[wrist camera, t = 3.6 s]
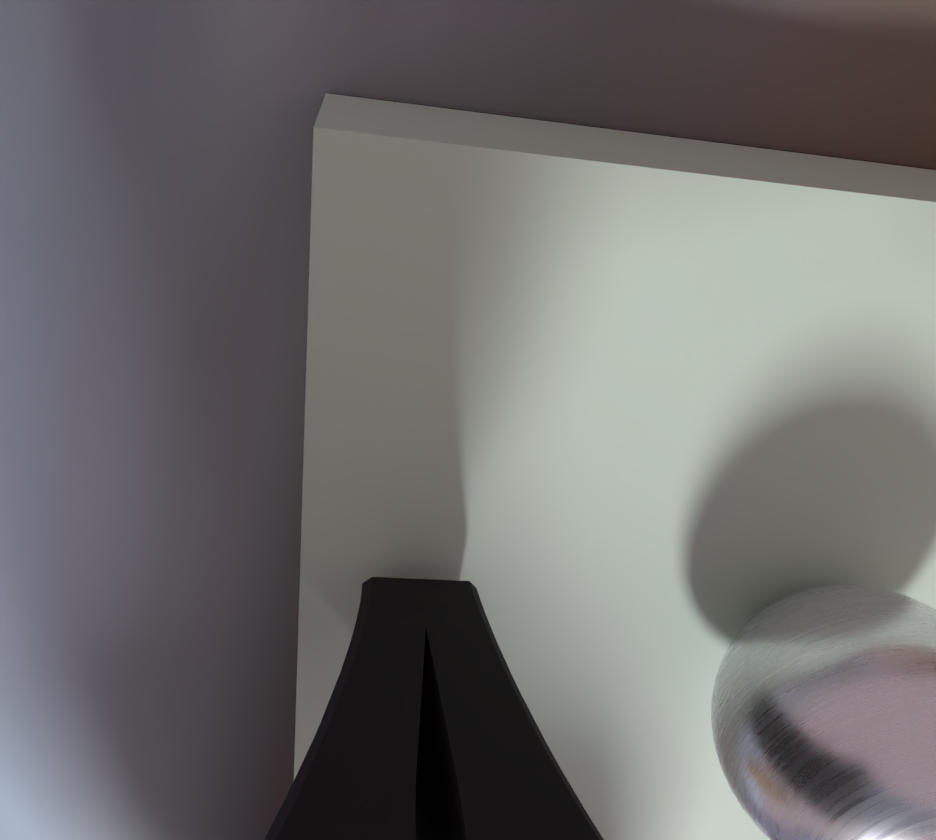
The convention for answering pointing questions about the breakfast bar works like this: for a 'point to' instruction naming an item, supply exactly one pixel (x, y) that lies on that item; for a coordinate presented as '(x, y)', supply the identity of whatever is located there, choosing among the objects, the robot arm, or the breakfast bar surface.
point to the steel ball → (832, 716)
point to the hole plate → (610, 415)
